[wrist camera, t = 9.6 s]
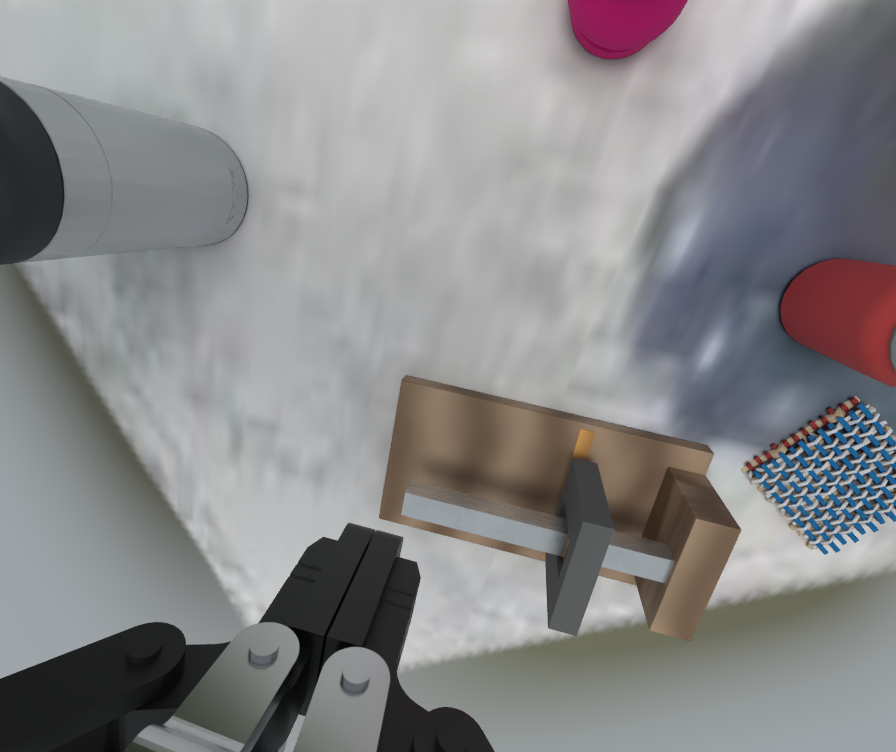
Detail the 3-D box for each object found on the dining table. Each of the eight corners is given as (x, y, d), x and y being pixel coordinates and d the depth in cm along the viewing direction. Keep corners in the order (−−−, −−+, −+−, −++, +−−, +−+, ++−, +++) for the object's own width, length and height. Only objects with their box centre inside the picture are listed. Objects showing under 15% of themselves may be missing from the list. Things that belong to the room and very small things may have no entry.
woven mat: (853, 385, 39) (869, 394, 37) (931, 481, 40) (951, 494, 38) (732, 462, 42) (742, 474, 40) (808, 548, 43) (820, 563, 42)
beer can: (771, 348, 38) (871, 404, 27) (781, 260, 37) (893, 281, 25) (868, 344, 37) (1014, 401, 26) (884, 254, 35) (1048, 272, 24)
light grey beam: (407, 501, 40) (400, 517, 38) (412, 476, 40) (405, 491, 37) (657, 565, 39) (665, 586, 36) (667, 541, 38) (675, 561, 36)
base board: (383, 509, 48) (352, 571, 40) (405, 375, 44) (375, 413, 35) (653, 579, 46) (681, 661, 38) (707, 445, 42) (752, 505, 33)
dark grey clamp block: (544, 547, 44) (548, 628, 35) (572, 457, 41) (583, 521, 32) (567, 553, 43) (576, 635, 35) (597, 463, 40) (614, 529, 32)
